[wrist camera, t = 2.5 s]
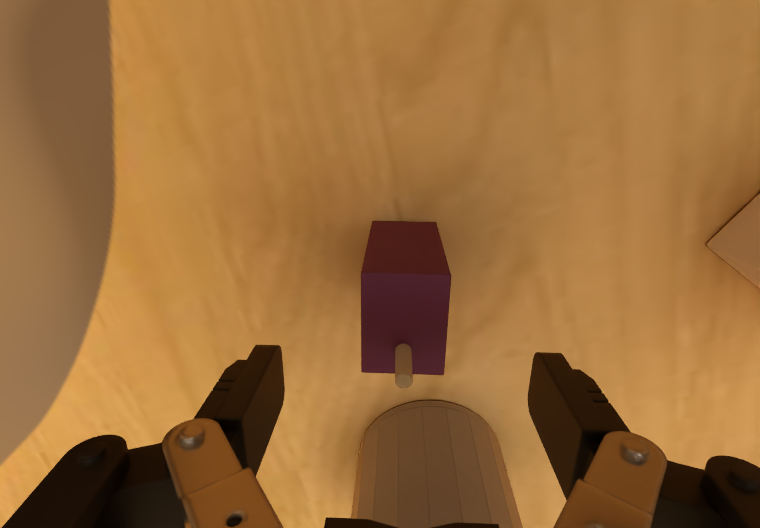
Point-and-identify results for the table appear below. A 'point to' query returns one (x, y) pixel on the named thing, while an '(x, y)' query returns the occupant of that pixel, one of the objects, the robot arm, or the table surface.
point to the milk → (741, 242)
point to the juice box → (404, 301)
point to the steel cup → (432, 469)
